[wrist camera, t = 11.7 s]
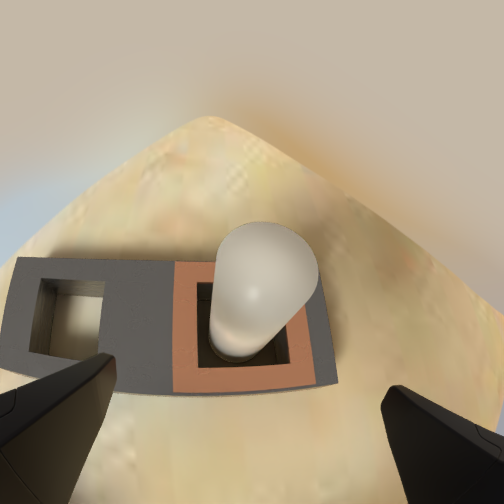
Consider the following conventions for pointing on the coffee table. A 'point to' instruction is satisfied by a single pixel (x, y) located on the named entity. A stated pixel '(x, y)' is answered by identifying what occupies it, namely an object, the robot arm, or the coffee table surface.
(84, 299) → the coffee table surface
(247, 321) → the peg
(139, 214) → the coffee table surface
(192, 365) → the rail
